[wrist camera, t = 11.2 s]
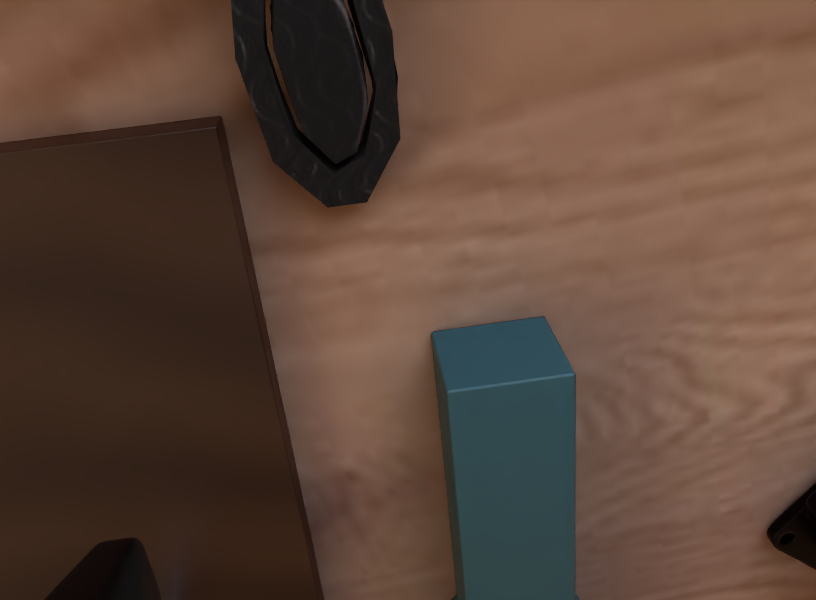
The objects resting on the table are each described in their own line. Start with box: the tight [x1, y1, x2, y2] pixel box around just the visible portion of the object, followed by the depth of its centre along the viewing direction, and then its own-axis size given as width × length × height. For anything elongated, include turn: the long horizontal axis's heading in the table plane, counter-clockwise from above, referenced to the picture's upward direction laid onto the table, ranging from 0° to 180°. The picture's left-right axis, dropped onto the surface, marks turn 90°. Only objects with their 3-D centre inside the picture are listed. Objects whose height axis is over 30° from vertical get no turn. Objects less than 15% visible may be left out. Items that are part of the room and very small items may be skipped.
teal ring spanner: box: [431, 317, 579, 600], centre depth 23 cm, size 15×5×3 cm, turn 6°
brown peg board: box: [0, 116, 324, 600], centre depth 19 cm, size 19×10×6 cm, turn 5°
